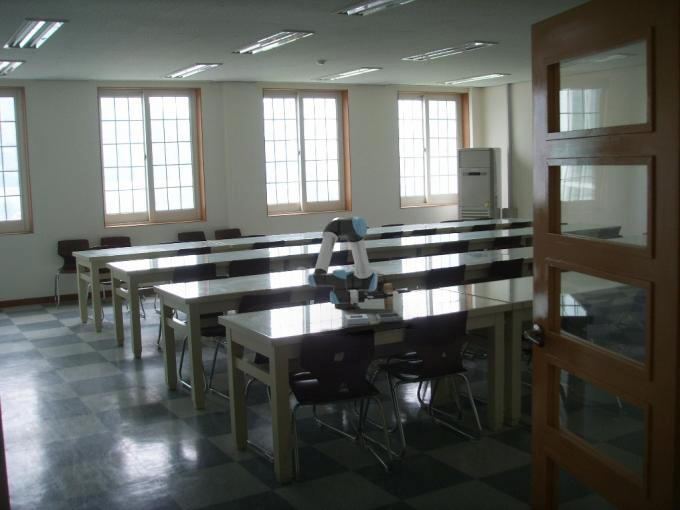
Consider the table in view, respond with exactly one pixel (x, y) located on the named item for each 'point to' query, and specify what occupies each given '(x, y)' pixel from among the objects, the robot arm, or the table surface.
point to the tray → (389, 317)
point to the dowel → (389, 301)
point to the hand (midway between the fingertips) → (397, 294)
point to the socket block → (356, 319)
